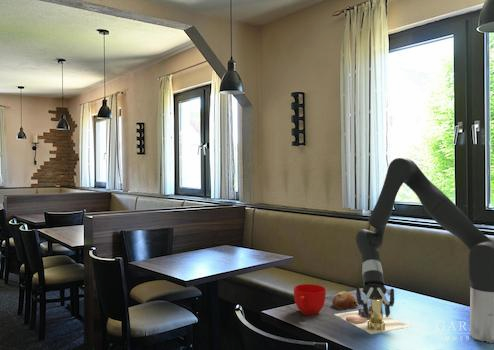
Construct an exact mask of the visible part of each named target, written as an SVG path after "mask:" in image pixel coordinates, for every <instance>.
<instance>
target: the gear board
mask: <svg viewBox="0 0 494 350" xmlns="http://www.w3.org/2000/svg"><path fill="white" fill-rule="evenodd" d="M333 314H334V316H336V317H338V318H340V319H342V320H344V321H346V322H347V323H349V324H351V325H353V326H356V327H357V328H359V329H360V330H362V331H365V333H368V334H370V335H374V334H381V333H385V332H390V331H396V330H402V329H405V328H410V327H412V326H411V325H408V324H406V323H404V322H401V321H399V320H396V319H395V318H393V317H391V316H388V317H386V314H385V313H384V310H382V320H383V321H384V322H385V329H383V330H374V329H370V328H369V327H368V320H370V319H371V304H369V305H368V316H366V314H364V311H363V306H362V305H361V307H358V310H354V311H347V312H339V313H333Z"/></svg>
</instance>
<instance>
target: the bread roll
mask: <svg viewBox="0 0 494 350" xmlns="http://www.w3.org/2000/svg"><path fill="white" fill-rule="evenodd" d="M331 303H332V306H333V307H334V308H336V309H339V310H346V309H349V310H354V309H356V308H357V307H358V305H359V304H358V302H357V297H355V296H354V295H353V294H352V293H349V292H347V291H344V290H343V291H340V292H337V293H336V294H335V295H333V298H332V302H331Z"/></svg>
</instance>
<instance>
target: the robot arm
mask: <svg viewBox="0 0 494 350" xmlns="http://www.w3.org/2000/svg"><path fill="white" fill-rule="evenodd" d="M427 177H428V176H426V175H425V173H424V172H422V170H421V169H420V168H419V166H418V165H417V163H416V162H415V161H413V160H412V159H410V158H405V157H397V158H394V159H392V160H391V162H390V163H389V165H388V168H387V172H386V174H385V178H384V182H383V185H382V188H381V191H380V193H379V195H378V199H377V201H376V203H375V205H374V208H373V209H372V212H371V213H370V216H369V218H368V220H367V222H368V224H369V225H370V226H371V227H372V228H374V229H375V230H374V231H371V230H369V229H365V228H361V229H359V230H358V231H357V232H356V235H355V243H356V246H357V248H358V251H359V253H360V256H361V261H362V263H361V264H362V267H361V271H362V273H361V275H362V281H363V287H361V288H360V287H359V286H357V287H356V288H355V295H356V297H355V298H356V299H357V302H358V303H357V305H359V306H360V305H361V307H362V306H363V311H364V314H366V316H368V307H369V305H368V303H369V301H371V299H372V298H379V299H382V305H383V306H384V312H385V313H384V315H386V317H390V314H391V309H390V307H394V304H395V290H394V288H390V289H388V288H386V286H385V278H384V272H383V267H382V262H381V254H380V252H379V249H380V248H381V247H382V245H383V241H384V235H385V229H386V227H387V224H388V222H389V220H390V217H391V216H392V213H393V210H394V207H395V202H396V198H397V195H398V192H399V190H400V189H401V187H402V186H403V184H405V185H406V186H407V187H409V189H410V190H411V191H412V192H414V194H415V195H416V196H417V198H418V200H419V202H420V204H421V205H422V207H423V208H424V210H425V211H426V213H428V215H429V216H430V217H431V218H432V219H433V220H434V221H435V222H436V223H437V224H438V225H439V226H440V227H442V228H443V229H444V230H446V231H447V232H448V233H450V234H451V235H453V236H454V237H456V238H457V239H459V240H460V241H461V242H462V244H464V245H465V246H466V248H467V249H468V250H469V253H468V278H469V282H470V284H469V285H470V287H469V290H470V291H469V293H470V294H469V296H470V297H469V298H470V299H469V301H470V302H469V304H470V305H469V336H470V337H471V338H472V339H474V340H477V341H480V342H484V341H486V342H485V343H488V342H489V344H493V343H494V241H493V240H492V239H491V238H489V237H488V236H487V235H486V234H484V232H482V231H481V230H480V229H479V228H478V227H477V226H476V225H475V224H474V223H473V222H472V221H471V219H469V217H467V215H466V214H465V213H464V212H463V211H462V210H461V209H460V208H459V207H458V206H457V205H456V204H455V202H453V201H452V200H451V199H450V198H449V197H448V196H447V194H445V193H444V192H443V191H441V189H439V187H437V186H436V185H435V184H434V183H432V182H431V181H430V180H429V178H427ZM362 293H363V294H364V295H365V297H364V300H363V299H362V296H361V295H362ZM386 293H387V296H389V300H388V299H387V296H386V295H385V294H386Z"/></svg>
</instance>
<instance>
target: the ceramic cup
mask: <svg viewBox="0 0 494 350" xmlns="http://www.w3.org/2000/svg"><path fill="white" fill-rule="evenodd" d="M326 293H327V289H326V287H324V286H322V285H319V284H318V285H317V284H313V283H312V284H310V283H309V284H308V283H307V284H306V283H305V284H304V283H303V284H297V285H294V287H293V296H294V298H293V299H294V303H295V305H296V307H297V309H298V310H299V311H300V312H301V314H302V315H305V316H315V315H318V314H319V313H320V312H321V310H322V309H323V308H324V305H325V302H326V295H327V294H326Z"/></svg>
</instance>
